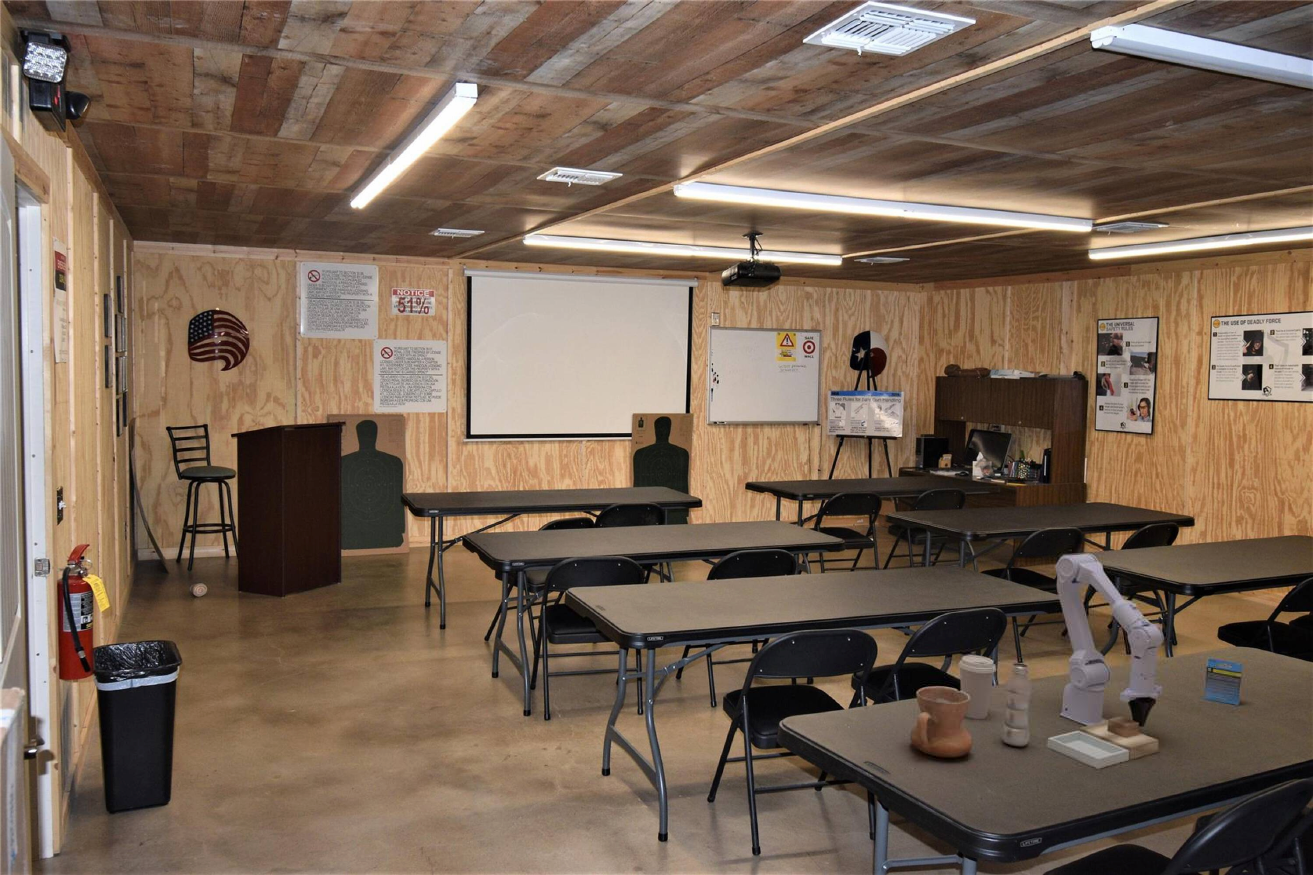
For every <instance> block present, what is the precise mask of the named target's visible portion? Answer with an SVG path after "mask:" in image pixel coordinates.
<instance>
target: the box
mask: <svg viewBox="0 0 1313 875" xmlns="http://www.w3.org/2000/svg"><path fill="white" fill-rule="evenodd" d="M1046 747H1047V749H1050V750H1052V751H1053V752H1057V753H1058V754H1061V755H1063V756H1066V757H1068V758H1071V759H1074V760H1075V761H1078V762H1080V763H1083V764H1085V765H1087V766H1090V767H1092V766H1093V767H1092V768H1094V767H1095V768H1094V769H1097V770H1099V769H1103V768H1106V766H1107V767H1110V766H1113V764H1114V765H1118V764H1121V763H1124V762H1127V761H1129V750H1126V749H1124V748H1121V747H1119V746H1116V745H1114V744H1111V743H1109V742H1106V741H1103V740H1101V739H1098V738H1096V737H1093V736H1091V735H1088V734H1086V733H1083V732H1080V730H1076V731H1071V732H1068V733H1067V732H1066V733H1063V734H1060V735H1059V734H1058V735H1055V736H1051V737H1048V738H1047V745H1046ZM1120 762H1121V763H1120Z"/></svg>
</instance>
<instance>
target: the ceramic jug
mask: <svg viewBox="0 0 1313 875" xmlns="http://www.w3.org/2000/svg"><path fill="white" fill-rule="evenodd" d="M938 699H942V700H945V701H948V702H944V701H937V700H938ZM916 701H917V705H918V708H919V710H920V714H919V715H918V717H917V721H916V722H917V723H916V726H914V727H913V728H912V730H911V731H910V734H909V736H910V737H909V738H910V741H911V744H912V745H913V746H914V747H915V748H916V749H917V750H918V751H921V752H923V753H925V754H927V755H930V756H934V757H937V758H938V757H939V758H943V759H944V758H946V759H947V758H948V759H952V758H954V759H955V758H958V757H959V758H960V757H963V756H965V755H967V754H968V753H969V752H970V751H971V750H972V748H973V744H974V740H973V738H972V735H971V733H970V732H968V730H966V729H965V728H964V727H963V726H962V723H963V721H964V719H965V717H966V716H965V715H966V712H967V710H968V707H969V703H970V697H969V695H968V694H967V693H965V692H963V691H961V690H960V691H959V690H958V689H957V688H954V687H948V686H940V685H939V686H938V685H937V686H935V685H934V686H925V687H921V688H919V689H918V690H917V691H916Z"/></svg>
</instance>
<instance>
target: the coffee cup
mask: <svg viewBox="0 0 1313 875" xmlns="http://www.w3.org/2000/svg"><path fill="white" fill-rule="evenodd" d="M958 667H959V668H960V670H959V671H960V691H963V692H965V693H967V694H968V695H969V697H970V703H969V707H968V710H967V712H966V715H965V717H966V718H969V719H974V720H983V719H986V718H987V717H988V713H989V712H988V710H989V705H990V699H991V694H992V686H993V681H994V680H993V679H994V674H995V672H996V671H997V668H996V664H994V660H993V659H991V658H989V657H986V656H981V655H972V654H971V655H969V654H968V655H964V656H962V658H961V660H960V661H959V662H958Z"/></svg>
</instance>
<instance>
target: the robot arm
mask: <svg viewBox="0 0 1313 875" xmlns="http://www.w3.org/2000/svg"><path fill="white" fill-rule="evenodd" d="M1054 568H1055V572H1056V573H1055V574H1056V575H1057V578H1056V590H1057V595H1058V599H1059V603H1060V606H1061V610H1062V613H1063V616H1064V619H1065V620H1064V621H1065V625H1066V629H1067V632H1068V635H1069V640H1070V644H1071V647H1072V651H1073V653H1072V655H1071V657H1070V658H1069V659H1068V665H1069V672H1068V676H1069V680H1070V682H1069V683H1067V684H1066V685H1065V687H1064V690H1063V693H1062V695H1063V696H1062V707H1061V712H1060V714H1059V715H1060V716H1061V717H1063V718H1067V719H1069V720H1072V721H1074V722H1075V723H1079V724H1082V725H1085V726H1089V725H1093V724H1097V723H1102V722H1106V721H1108V719H1107V718H1103V706H1104V693H1105V692H1104V691H1105V689H1106V685H1107V684H1108V683H1109V682H1110V681H1111V678H1112V671H1111V668H1110V666H1109V664H1108V663H1107V662H1106V660H1105V656H1104V655H1103V654H1102V653H1101V652H1099V650H1097V649H1096V646H1095V642H1094V639H1093V635H1092V631H1091V628H1090V624H1089V620H1088V617H1087V613H1086V610H1085V605H1084V602H1083V599H1082V595H1081V590H1082V588H1083V586H1084V585H1085V584H1089V585H1091V587H1093V588H1094V589H1095V590H1096V592H1097V593H1099V594H1100V595H1101V597H1103V599H1104V601H1106V602H1107V603H1108V604H1109V605H1110V606H1111V615H1112V616H1113V617H1114V618H1115V619H1116V621H1117V622H1118V623H1119V625H1121V627H1122V628H1123V630H1124V631H1125V632H1126V633H1127V640H1128V643H1129V645H1130V652H1131V658H1130V659H1131V661H1130V675H1129V686H1128V687H1127V688H1126V689H1125V690H1123V691H1122V692H1120V694H1119V695H1120V696H1119V701H1122V702H1124V703H1127V704H1128V706H1129V708H1130V713H1131V717H1132V721H1135V722H1138V723H1139V728H1143V727H1144V726H1145V724H1146V722H1147V720H1148V717H1149V714H1150V713H1151V710H1152V709H1153V707H1154V706H1155V704H1156V703H1157V699H1156V698H1158V697H1159V696H1160V695H1162V693H1163V686H1160V685H1158V684H1156V677H1157V676H1156V674H1157V662H1158V650H1159V647H1160V646H1162V645H1163V643H1164V638H1165V637H1164V633H1163V630H1161V628H1160V626H1159V625H1157V624H1154V623H1151V622H1150V620H1148V618H1145V616H1144V615H1143V614H1142V612H1141V611H1140V610H1139V609H1138V605H1137V604H1136V603H1135V602H1133V601H1131V600H1127V599H1124V598H1123V596H1122V595H1121V594H1120V592H1119V590H1118V589H1117V588H1116V587H1115V585H1114V584H1113V583H1112V580H1110V578H1109V577H1108V576H1107V574H1106V573H1105V571H1104V566H1103V564H1102V563H1101V562H1100V561H1099V560H1098V558H1097V556H1095V555H1094V554H1091V553H1090V552H1089V553H1088V552H1087V553H1082V554H1073V555H1068V554H1067V555H1065V554H1064V555H1062V556H1061V557H1060V558H1059V559H1058V561H1057V563H1056V564H1055V565H1054Z"/></svg>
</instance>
